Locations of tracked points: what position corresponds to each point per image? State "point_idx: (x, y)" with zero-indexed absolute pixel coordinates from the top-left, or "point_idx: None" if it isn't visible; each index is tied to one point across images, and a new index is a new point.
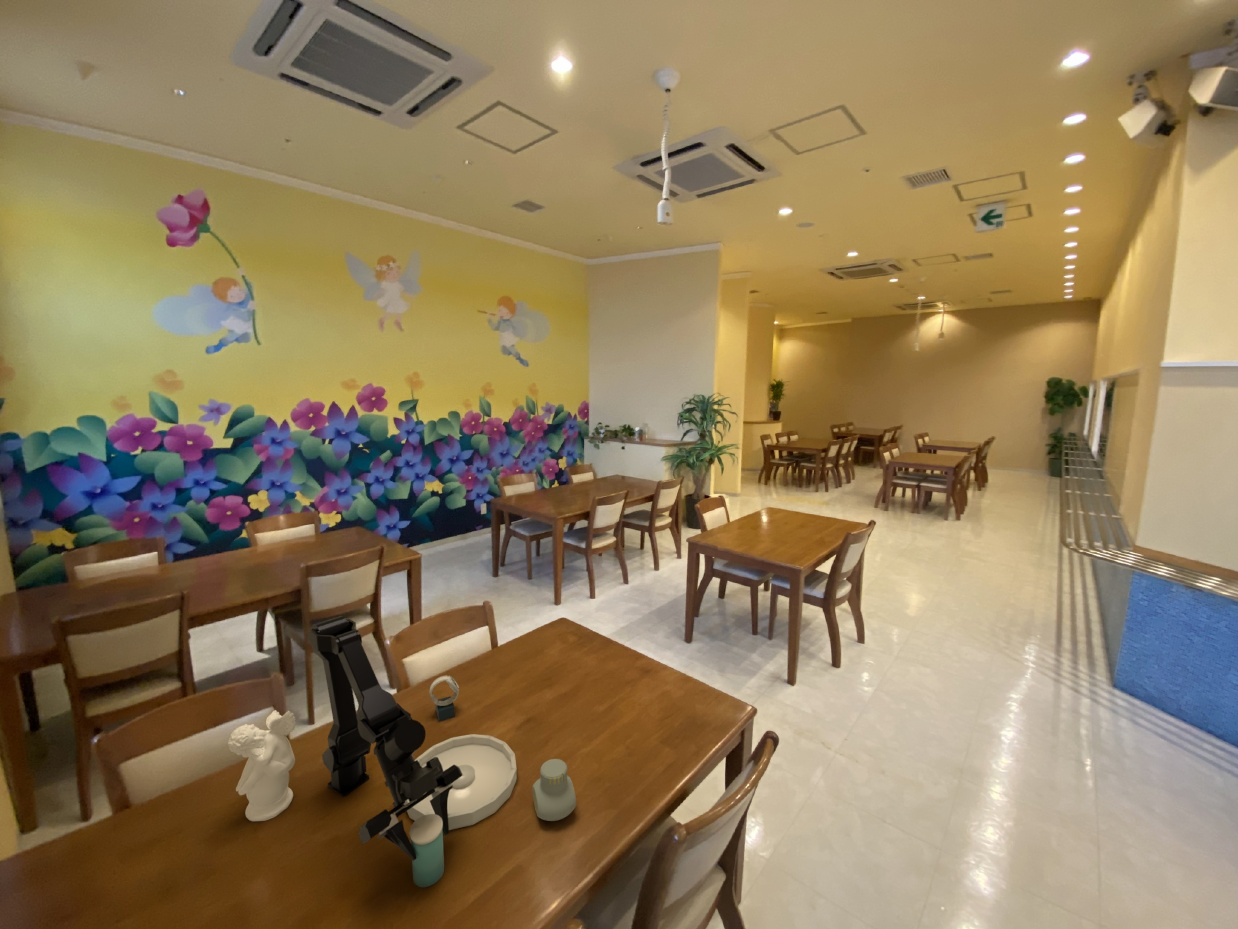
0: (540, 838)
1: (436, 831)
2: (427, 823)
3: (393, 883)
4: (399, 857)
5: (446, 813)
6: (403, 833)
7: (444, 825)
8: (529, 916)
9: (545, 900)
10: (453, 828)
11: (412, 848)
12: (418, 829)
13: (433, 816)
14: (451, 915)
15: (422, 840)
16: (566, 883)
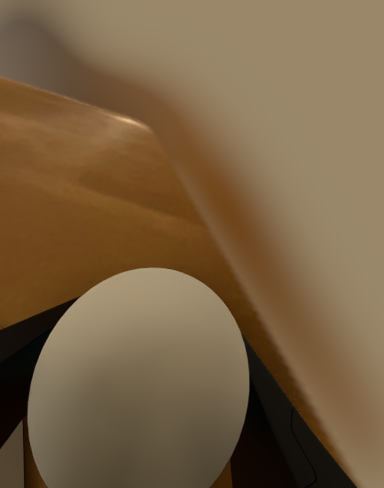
0: (10, 173)
1: (150, 281)
2: (122, 387)
3: None
4: None
5: (2, 334)
6: (312, 481)
7: None
8: (154, 138)
9: (125, 130)
10: None
11: None
12: (186, 408)
13: (51, 399)
14: (206, 231)
15: (227, 309)
16: (91, 116)
